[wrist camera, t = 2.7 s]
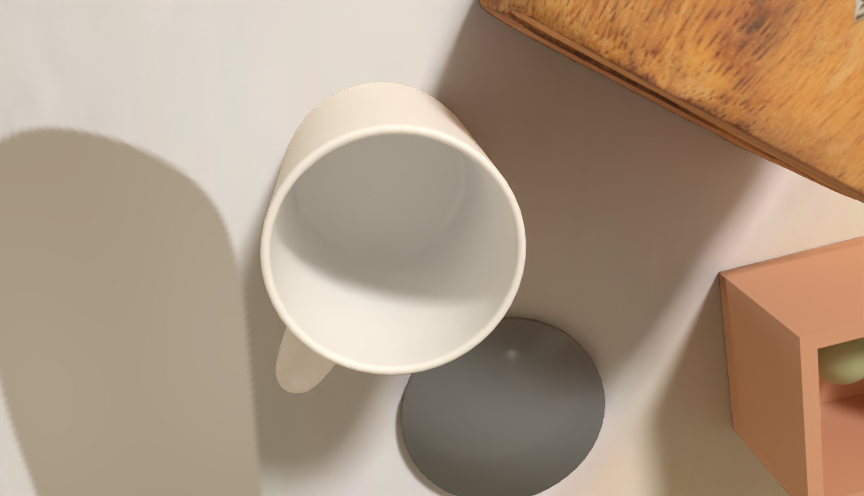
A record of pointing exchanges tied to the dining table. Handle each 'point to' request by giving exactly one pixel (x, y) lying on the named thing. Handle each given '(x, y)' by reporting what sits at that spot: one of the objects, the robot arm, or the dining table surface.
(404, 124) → the mug
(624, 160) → the dining table surface
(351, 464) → the dining table surface
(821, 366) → the olive ball
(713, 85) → the wooden box
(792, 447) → the planter
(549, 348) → the slate coaster
